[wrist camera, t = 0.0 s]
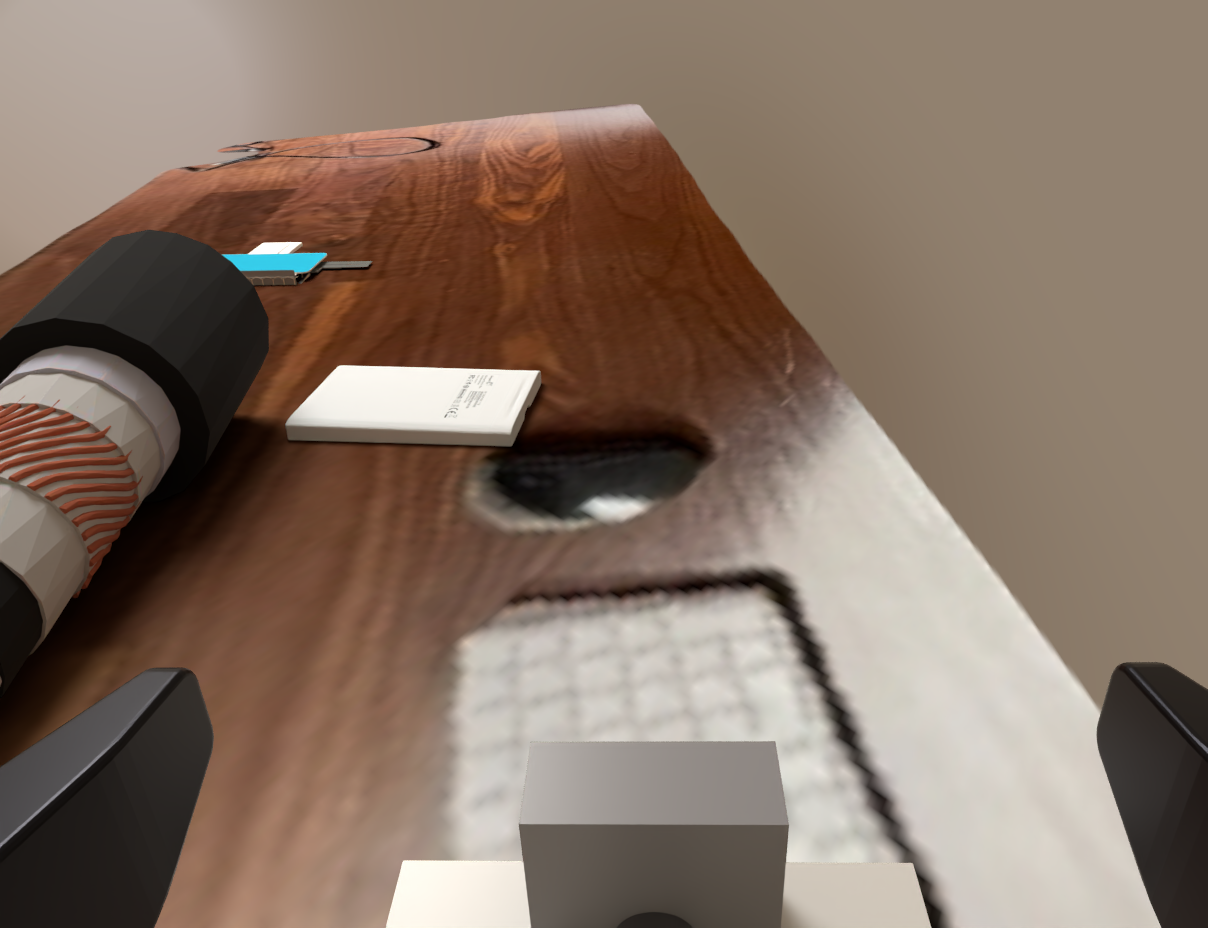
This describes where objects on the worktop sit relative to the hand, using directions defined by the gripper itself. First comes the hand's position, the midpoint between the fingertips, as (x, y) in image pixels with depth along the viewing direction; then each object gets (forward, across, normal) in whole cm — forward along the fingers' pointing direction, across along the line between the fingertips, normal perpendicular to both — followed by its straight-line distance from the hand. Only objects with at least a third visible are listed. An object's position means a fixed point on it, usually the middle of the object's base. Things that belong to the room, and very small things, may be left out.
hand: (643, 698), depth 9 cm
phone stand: (+71, +33, +17) cm, 80 cm away
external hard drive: (+42, +13, +17) cm, 47 cm away
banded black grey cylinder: (+25, +25, +17) cm, 39 cm away
